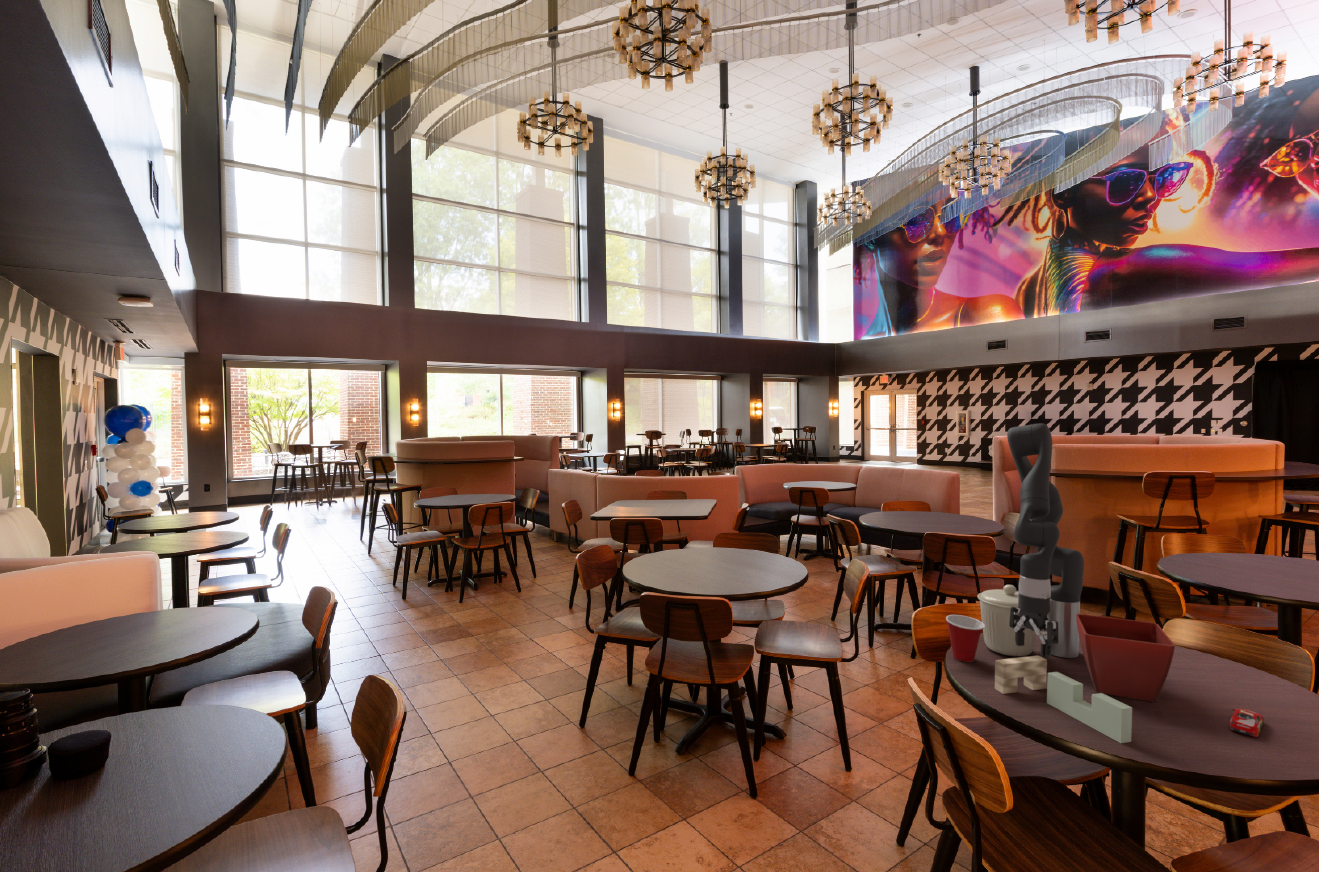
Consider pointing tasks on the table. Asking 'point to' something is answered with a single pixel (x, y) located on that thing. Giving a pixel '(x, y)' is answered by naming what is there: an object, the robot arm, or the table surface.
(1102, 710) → the notched board
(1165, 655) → the plant pot
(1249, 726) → the race car
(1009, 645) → the canister
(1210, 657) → the table surface
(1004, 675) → the slotted plate
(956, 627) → the plastic cup
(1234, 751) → the table surface
